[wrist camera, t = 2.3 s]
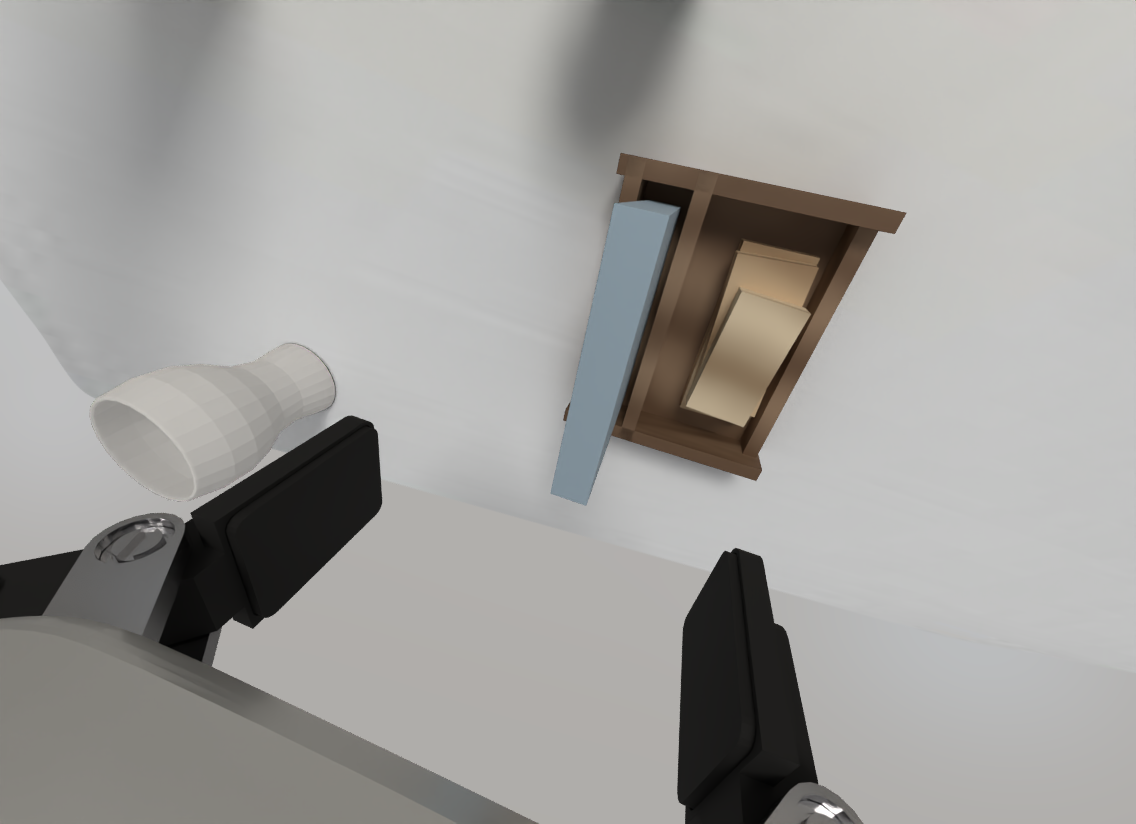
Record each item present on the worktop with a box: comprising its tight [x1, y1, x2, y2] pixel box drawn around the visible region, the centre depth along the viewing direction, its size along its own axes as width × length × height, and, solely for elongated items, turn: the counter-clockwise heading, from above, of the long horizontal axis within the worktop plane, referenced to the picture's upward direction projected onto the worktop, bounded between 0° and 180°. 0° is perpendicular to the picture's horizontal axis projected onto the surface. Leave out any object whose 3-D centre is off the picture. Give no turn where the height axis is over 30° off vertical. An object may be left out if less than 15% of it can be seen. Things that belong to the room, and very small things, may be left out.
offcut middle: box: [692, 251, 819, 417], centre depth 26 cm, size 10×4×2 cm, turn 172°
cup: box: [90, 344, 335, 502], centre depth 37 cm, size 11×11×15 cm
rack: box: [563, 153, 906, 481], centre depth 28 cm, size 18×15×4 cm
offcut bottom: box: [680, 239, 820, 421], centre depth 28 cm, size 12×4×2 cm, turn 169°
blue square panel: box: [551, 200, 681, 506], centre depth 24 cm, size 14×2×14 cm, turn 169°
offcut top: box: [686, 286, 811, 427], centre depth 26 cm, size 8×4×2 cm, turn 165°
